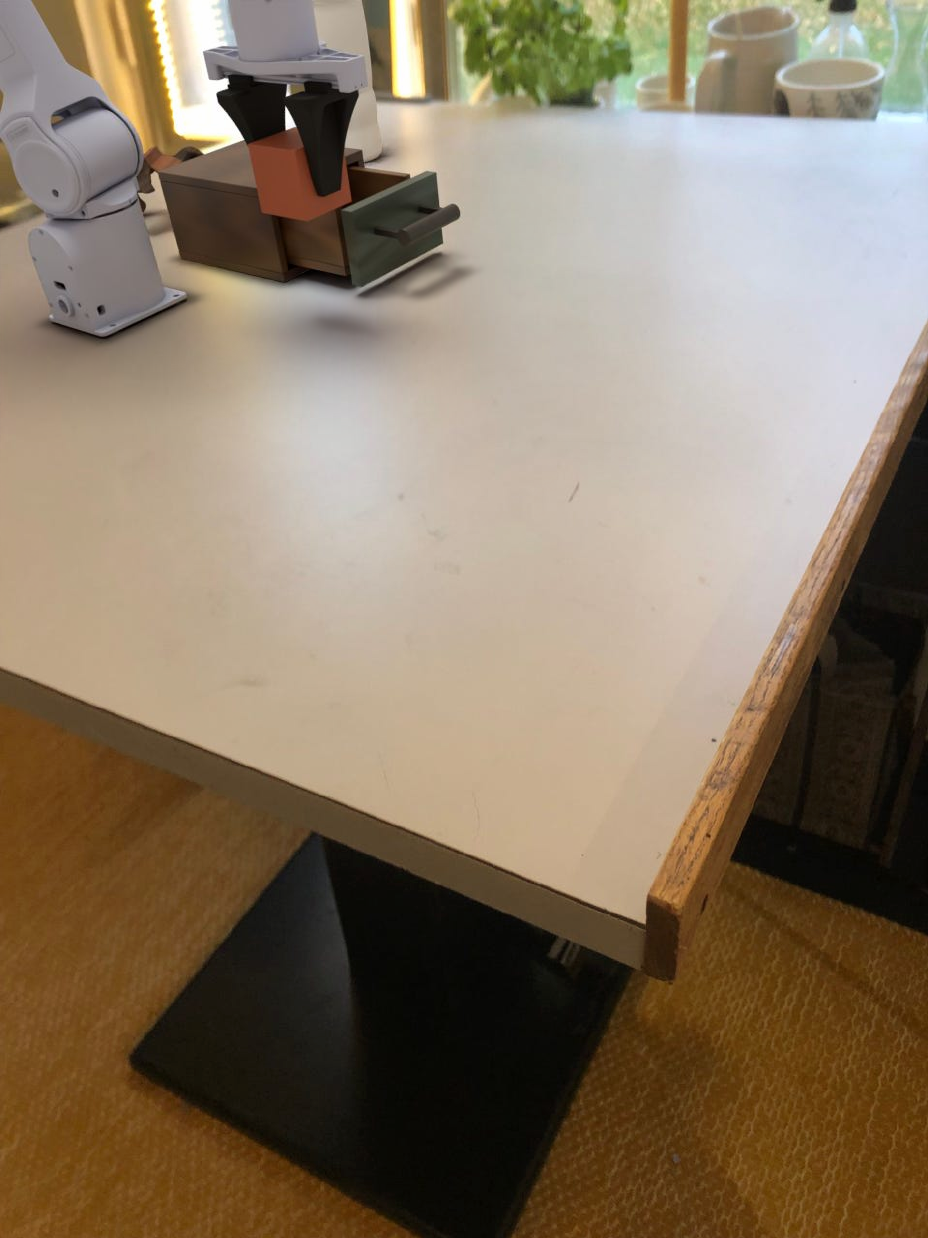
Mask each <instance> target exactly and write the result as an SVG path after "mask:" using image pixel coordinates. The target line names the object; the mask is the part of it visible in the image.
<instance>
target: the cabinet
mask: <svg viewBox="0 0 928 1238" xmlns="http://www.w3.org/2000/svg"><path fill="white" fill-rule="evenodd" d="M203 154H204V155H201V156H199V157H196V158H193V159H190V160H188V161H185V162H182V163H180V164H177V165H174V166H171V167H169V168H166V169H163V170H160V171H158V173H157V175H158V180H159V183H160V187H161V191H162V195H163V198H164V202H165V205H166V209H167V213H168V217H169V221H170V224H171V228H172V232H173V235H174V236H173V237H174V239H175V242H176V246H177V250H178V254H179V257H180V259H183V260H187V261H191V262H195V263H200V264H205V265H209V266H213V267H217V268H221V269H225V270H229V271H235V272H238V273H243V274H248V275H252V276H256V277H260V278H263V279H270V280H273V281H277V282H281V283H286V282H288V281H290V280H292V279H294V278H296V277H298V276H300V275H302V274H304V273H306V272H308V271H310V270H312V269H311V268H307V267H302V266H297V265H293V264H288V263H287V261H286V256H285V251H284V246H283V241H282V236H281V231H280V226H279V221H278V216H276V215H271V214H266V213H262V210H261V205H260V200H259V196H258V191H257V186H256V181H255V176H254V172H253V167H252V162H251V157H250V152H249V148H248V146H247V144H246V142H245V140H244V139H242V140H239V141H237V142H235V143H232V144H229V145H226V146H223V147H221V148H218V149H215V150H212V151H210V152H206V153H203ZM344 154H345V160H346V165H350V166H357V167H364V168H366V166H365V162H364V159H363V152H362V150H361V149H353V148H345V149H344Z"/></svg>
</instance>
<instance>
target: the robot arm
mask: <svg viewBox="0 0 928 1238" xmlns="http://www.w3.org/2000/svg"><path fill="white" fill-rule="evenodd" d="M227 3H228V8H229V13H230V17H231V23H232V27H233V33H234V37H235V42H236V45H219V46H216V47H213V48H210V49H206V50H203V51H202V54H203V55H202V56H203V58H204V64H205V68H206V73H207V78H208V80H209V81H221V80H224V79H227V80H228V84H226V85H227V88H224V89H222V90H219V91H217V92H216V93H215V95H216V101H217V103H218V105H219V106H220V107H221V108H222V110H223V111H224V112H225V113H226V114H227V116H228V117H229V118H230V120H231V121H232V123H233V124H234V126H235V127H236V128H237V130H238V131H239V133H240V135H241V136H242V138H243V140H245V142H246V144H247V146H248V144H250V143H252V142H255V141H258V140H261V139H263V138H266V137H269V136H271V135H274V134H277V133H280V132H282V131H285V130H287V125H286V109H287V111H288V113H289V115H290V117H291V119H292V121H293V123H294V125H295V127H297V130H298V132H299V135H300V138H301V140H302V143H303V146H304V149H305V153H306V157H307V162H308V167H309V171H310V175H311V179H312V182H313V185H314V188H315V190H316V193H317V195H318V196H320V197H325V196H328V195H330V194H332V193H335V192H337V191H339V190H341V183H342V169H343V157H344V149H345V142H346V136H347V131H348V127H349V123H350V120H351V116H352V113H353V110H354V107H355V105H356V102H357V100H358V97H359V91H358V90H359V89H361V88H364V87H367V86H368V81H367V74H366V66H365V58H364V55H356V54H349V53H345V52H341V51H337V50H334V49H330V48H327V46H326V42H319V41H318V34H317V28H316V21H315V15H314V8H313V2H312V0H227ZM288 85H291V86H301V87H303V88H304V90H300V91H298V92H296V93H295V92H294V93H293V94H290V95H287V91H288ZM0 91H1V93H2V95H3V96H2V97H3V99H2V103H1V108H0V140H1V142H2V143H3V145H4V147H5V148H6V151H7V153H8V155H9V157H10V160H11V165H12V170H13V173H14V175H15V178H16V179H15V180H16V181H17V183H18V185H19V187H20V189H21V190H22V191H23V193H24V194H25V195H26V196H27V197H26V198H28V199H29V200H30V201H31V202H32V203H33V204H34V205H35V206H36V207H37V208H39V209H40V210H42V211H43V213H44V215H45V217H46V219H45V220H44V221H43V222H42V223H41V224H38V225H36V226H35V227H33V228H32V229H30V231H29V232H28V240H27V242H28V243H27V244H28V250H29V253H30V254H29V255H30V257H31V260H32V263H33V265H34V268H35V271H36V274H37V276H38V279H39V282H40V285H41V287H42V290H43V293H44V295H45V298H46V301H47V303H48V306H49V310H50V311H51V314H49V316H48V318H49V321H51V322H53V323H57V324H59V325H62V326H66V327H68V328H72V329H75V330H78V331H82V332H85V333H88V334H91V335H95V336H97V337H101V338H103V337H107V336H110V335H112V334H114V333H116V332H118V331H121V330H123V329H125V328H127V327H129V326H131V325H133V324H135V323H138V322H139V321H142V320H143V319H146V318H148V317H150V316H153V315H154V314H156V313H159V312H161V311H163V310H165V309H167V308H169V307H171V306H173V305H175V304H178V303H179V302H181V301H184V300H186V299H187V298H188V295H187V292H186V291H183V290H179V289H174V288H172V287H171V288H170V287H167V286H164V283H163V280H162V275H161V273H160V268H159V265H158V262H157V259H156V255H155V252H154V247H153V245H152V240H151V238H150V233H149V231H148V227H147V223H146V220H145V217H144V212H143V213H142V209H141V206H140V202H139V199H138V197H137V196H138V195H137V192H138V191H139V190H140V188H139V185H138V181H137V178H136V177H137V176H138V174H139V173H140V171H141V169H142V166H143V160H144V154H145V152H144V146H143V143H142V139H141V138H140V134H139V132H138V130H137V129H136V127H135V125H134V124H133V123H132V121H131V120H130V119H129V117H128V116H126V114H125V113H123V112H122V111H121V110H120V109H119V108H118V107H117V106H115V104H114V103H112V101H111V99H110V98H109V96H108V95H107V93H106V92H105V90H104V89H103V87H102V85H101V83H100V82H99V81H98V80H96V79H94V78H93V77H91V76H89V75H88V74H86V73H84V72H83V71H81V70H79V69H77V68H75V67H74V66H72V65H70V64H69V63H68V62H67V61H66V59H65V57H64V56H63V54H62V52H61V50H60V48H59V47H58V45H57V43H56V42H55V40H54V38H53V36H52V34H51V33H50V31H49V29H48V28H47V25H46V24H45V22H44V20H43V19H42V17H41V15H40V13H39V12H38V10H37V7H36V6H35V5H34V2H33V1H32V0H0ZM52 118H60V119H59V120H57V121H55V122H53V123H52V122H51V121H52ZM248 148H249V147H248Z"/></svg>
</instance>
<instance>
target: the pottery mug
mask: <svg viewBox="0 0 928 1238" xmlns="http://www.w3.org/2000/svg"><path fill="white" fill-rule="evenodd" d="M204 154H205V153H204V152H203V151H202V150H200V149H199V148H197V147H195V146H185V147H183V148H181V149H180V150H179V151H178V152H177V153H175V154H173V155H168V154H163V152H162V151H161V150H160V149H159V147H158V146H157V145H154V146H152V147H150V148H149V149H148V150H147V151H146V152H144V160H143V166H142V169H141V171H140V173H139V174H138V176H137V177H136V178H137V181H138V185H139V188H140V190H139V191H138V192H137V195H138V196H137V197H138V199H139V202H140V206H141V209H142V213H143V214H144V212H146V211H145V210H146V208H147V203H146V201H145V200H144V199H142V197H141V196H140V194H146V195H148V194H153V193H155V192H156V189H155V187H154V185H153V184H152V174H154V173H156V174H158V171H160V170H163V169H166V168H169V167H171V166H174V165H177V164H180V163H182V162H185V161H188V160H190V159H193V158H196V157H199V156H201V155H204Z"/></svg>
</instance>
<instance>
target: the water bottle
mask: <svg viewBox="0 0 928 1238" xmlns="http://www.w3.org/2000/svg"><path fill="white" fill-rule="evenodd" d="M312 2H313V8H314V15H315V21H316V28H317V34H318V41H319V42H326V46H327V48H330V49H334V50H337V51H341V52H345V53H349V54H356V55H364V58H365V66H366V74H367V81H368V86H367V87H364V88H361V89H359V90H358V91H359V97H358V100H357V102H356V105H355V107H354V110H353V113H352V116H351V120H350V123H349V127H348V131H347V136H346V142H345V148H353V149H361V150H362V152H363V159H364V163H367V162H370V161H373V160H375V159H377V158H378V157H379V156H380V155H381V153H382V152H383V142H382V135H381V129H380V126H379V121H378V105H377V104H378V103H377V98H376V97H377V96H376V94H375V90H374V88H373V70H372V59H371V51H370V50H371V49H370V42H369V37H368V36H369V34H368V27H367V21H366V16H365V10H364V5H363V1H362V0H312Z"/></svg>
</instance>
